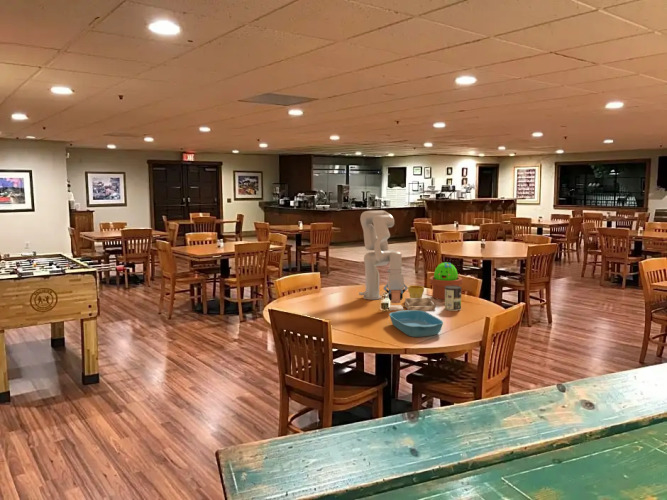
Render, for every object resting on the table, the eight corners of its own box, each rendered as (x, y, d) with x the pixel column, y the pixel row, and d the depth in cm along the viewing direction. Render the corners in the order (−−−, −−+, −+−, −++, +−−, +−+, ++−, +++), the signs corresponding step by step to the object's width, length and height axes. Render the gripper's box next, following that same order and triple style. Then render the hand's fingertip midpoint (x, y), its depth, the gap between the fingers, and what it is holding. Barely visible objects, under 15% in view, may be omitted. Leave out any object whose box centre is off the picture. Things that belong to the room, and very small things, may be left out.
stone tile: (389, 310, 329) (389, 308, 329) (387, 306, 338) (387, 305, 337) (403, 310, 329) (403, 308, 329) (401, 306, 338) (401, 305, 338)
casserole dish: (384, 322, 301) (384, 310, 300) (420, 319, 307) (420, 307, 306) (409, 341, 266) (409, 327, 265) (449, 337, 272) (450, 324, 271)
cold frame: (408, 310, 327) (408, 302, 326) (405, 305, 340) (405, 298, 339) (434, 310, 328) (435, 302, 327) (430, 305, 340) (430, 297, 339)
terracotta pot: (390, 303, 329) (390, 290, 328) (389, 301, 336) (389, 288, 335) (401, 303, 329) (401, 290, 328) (400, 300, 336) (400, 288, 335)
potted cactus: (432, 293, 376) (433, 258, 373) (463, 295, 368) (464, 259, 365) (426, 299, 356) (426, 263, 353) (459, 302, 348) (460, 264, 345)
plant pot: (423, 299, 357) (423, 285, 356) (424, 303, 347) (424, 288, 345) (407, 299, 358) (407, 285, 357) (408, 302, 348) (408, 288, 346)
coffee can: (460, 307, 334) (461, 285, 332) (461, 311, 324) (461, 288, 322) (444, 306, 336) (444, 285, 334) (444, 310, 326) (444, 288, 324)
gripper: (382, 272, 326) (382, 301, 328) (410, 272, 326) (410, 300, 329) (381, 271, 334) (381, 298, 336) (408, 270, 334) (408, 298, 336)
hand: (395, 299), depth 332 cm, fingers closed on terracotta pot, 6 cm apart
